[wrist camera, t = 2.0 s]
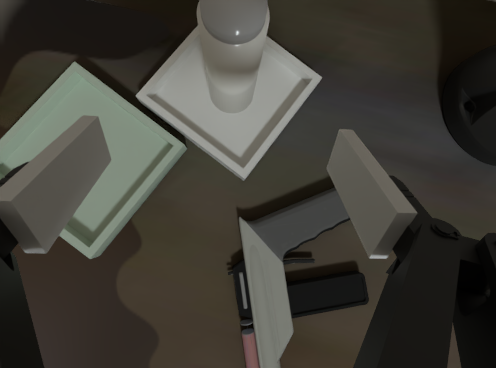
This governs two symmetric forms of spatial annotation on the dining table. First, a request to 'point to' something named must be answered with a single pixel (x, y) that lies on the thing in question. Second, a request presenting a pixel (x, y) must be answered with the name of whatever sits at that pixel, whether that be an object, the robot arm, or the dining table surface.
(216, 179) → the dining table surface
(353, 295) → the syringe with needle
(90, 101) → the green tray
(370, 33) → the dining table surface
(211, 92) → the sugar shaker
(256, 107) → the grey tray
